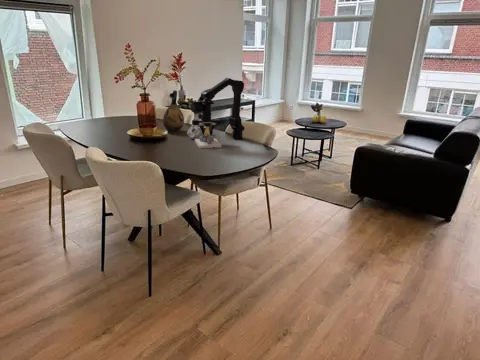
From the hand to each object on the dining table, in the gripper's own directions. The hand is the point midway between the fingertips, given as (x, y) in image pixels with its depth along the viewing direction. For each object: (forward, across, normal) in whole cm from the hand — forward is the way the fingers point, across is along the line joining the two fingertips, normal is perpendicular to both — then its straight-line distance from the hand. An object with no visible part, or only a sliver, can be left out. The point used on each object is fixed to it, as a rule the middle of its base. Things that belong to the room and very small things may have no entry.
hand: (206, 135), depth 227 cm
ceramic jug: (+6, +17, -38) cm, 42 cm away
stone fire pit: (+5, 0, +4) cm, 6 cm away
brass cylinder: (+3, 0, 0) cm, 3 cm away
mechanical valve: (+6, 0, -17) cm, 18 cm away
